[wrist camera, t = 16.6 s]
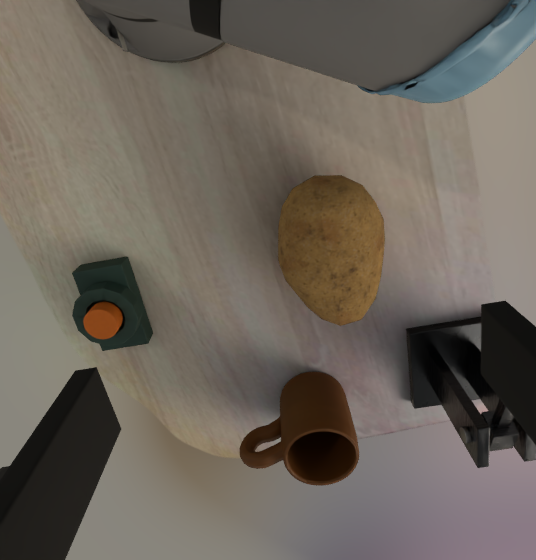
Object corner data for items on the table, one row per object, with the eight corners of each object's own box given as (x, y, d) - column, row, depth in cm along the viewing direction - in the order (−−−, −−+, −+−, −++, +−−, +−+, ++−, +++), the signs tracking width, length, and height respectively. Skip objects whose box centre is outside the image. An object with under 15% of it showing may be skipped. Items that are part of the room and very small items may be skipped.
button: (85, 304, 42) (78, 312, 40) (117, 298, 42) (111, 307, 40) (96, 332, 43) (89, 342, 41) (127, 327, 43) (122, 336, 41)
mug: (249, 432, 53) (246, 498, 44) (235, 380, 50) (229, 441, 41) (348, 416, 52) (365, 481, 43) (340, 363, 49) (356, 421, 40)
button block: (75, 265, 44) (57, 281, 40) (133, 255, 44) (121, 270, 40) (104, 341, 48) (90, 362, 44) (158, 332, 47) (149, 352, 43)
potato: (293, 309, 46) (298, 350, 39) (260, 179, 41) (259, 198, 33) (384, 289, 45) (407, 326, 38) (363, 153, 40) (385, 166, 33)
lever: (483, 346, 32) (498, 375, 30) (561, 334, 31) (580, 362, 30) (458, 429, 41) (468, 454, 39) (518, 420, 40) (531, 445, 39)
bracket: (406, 328, 47) (453, 406, 35) (490, 314, 47) (567, 389, 35) (411, 402, 51) (455, 494, 39) (489, 390, 50) (557, 480, 39)
